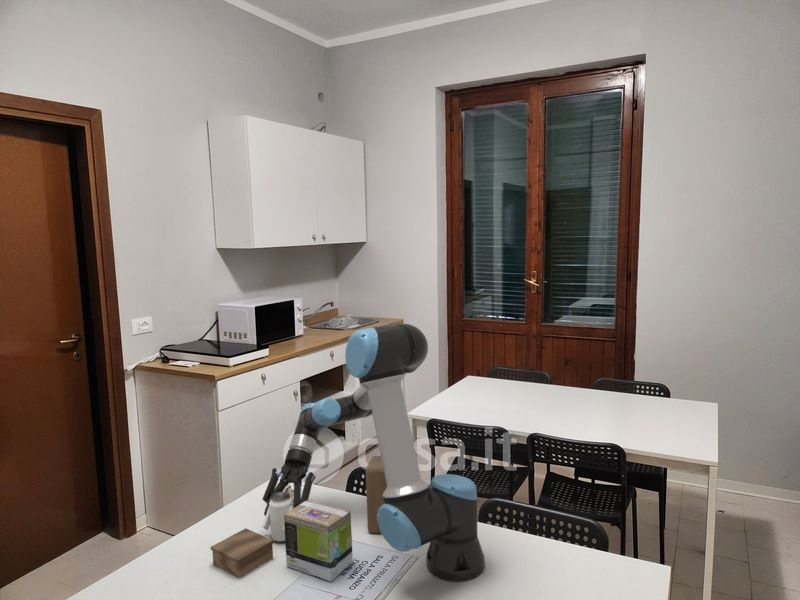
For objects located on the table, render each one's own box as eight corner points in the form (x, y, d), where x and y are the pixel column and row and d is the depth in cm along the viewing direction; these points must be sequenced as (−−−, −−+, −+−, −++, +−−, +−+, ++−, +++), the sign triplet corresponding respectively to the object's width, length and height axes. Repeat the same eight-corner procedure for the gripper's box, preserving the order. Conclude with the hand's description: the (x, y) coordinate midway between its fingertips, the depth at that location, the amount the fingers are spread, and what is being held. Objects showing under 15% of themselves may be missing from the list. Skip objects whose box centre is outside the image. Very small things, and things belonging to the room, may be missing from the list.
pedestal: (274, 557, 154) (273, 540, 153) (239, 579, 144) (238, 560, 144) (246, 545, 161) (245, 528, 160) (211, 564, 151) (210, 546, 151)
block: (401, 536, 163) (399, 469, 161) (367, 534, 165) (364, 467, 163) (406, 519, 173) (404, 455, 171) (374, 517, 175) (371, 454, 172)
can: (297, 530, 166) (294, 491, 165) (290, 542, 160) (287, 501, 159) (275, 530, 167) (272, 491, 166) (268, 542, 161) (265, 501, 160)
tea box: (354, 563, 150) (352, 509, 149) (330, 583, 142) (328, 527, 140) (309, 548, 158) (307, 497, 156) (285, 567, 149) (282, 513, 148)
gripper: (332, 460, 173) (310, 538, 160) (278, 455, 179) (252, 529, 165) (324, 449, 168) (300, 529, 154) (268, 444, 174) (240, 521, 160)
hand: (275, 529), depth 160 cm, fingers closed on can, 6 cm apart
